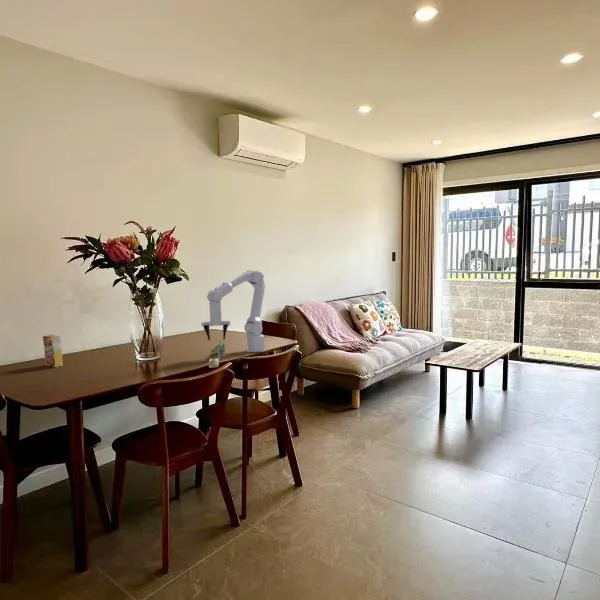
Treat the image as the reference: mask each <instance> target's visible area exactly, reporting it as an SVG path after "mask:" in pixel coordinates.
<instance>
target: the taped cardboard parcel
mask: <svg viewBox="0 0 600 600" xmlns="http://www.w3.org/2000/svg"><path fill="white" fill-rule="evenodd" d="M217 344H218V343H216V344H215V346H216V345H217ZM219 362H220V360H219V359H218V358H215V357H213V358H212V357H211V358H209V361H208V368H218V367H219V365H220V364H219Z"/></svg>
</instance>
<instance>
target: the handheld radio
mask: <svg viewBox="0 0 600 600" xmlns="http://www.w3.org/2000/svg"><path fill="white" fill-rule="evenodd" d="M216 344H217V345H216ZM216 344H215V346H214V348H213V354H214V357H213V358H218V359H219V361H220V360H221V359H222V357H223V355H225V353H226V349H225V347H226V346H225V340H220V341H219V342H218V343H216Z"/></svg>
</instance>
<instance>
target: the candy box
mask: <svg viewBox="0 0 600 600" xmlns="http://www.w3.org/2000/svg"><path fill="white" fill-rule="evenodd" d="M42 342H43V343H42V344H43V349H44V360H45V366H46V365H47V366H46V367H50V366H52V367H51V368H55V367H57V368H59V367H58V366H61V367H63V366H64V365H63V364H64V363H63V353H62V352H63V351H62V343H61V335H53V334H46V335H42Z"/></svg>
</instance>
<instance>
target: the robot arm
mask: <svg viewBox="0 0 600 600" xmlns="http://www.w3.org/2000/svg"><path fill="white" fill-rule="evenodd" d="M264 278H265V277H264V274H263V273H262V272H261V270H250V269H249V270H248V269H247V270H246V271H244V272H243V273H241V274H240V275H238V276H237V277H235V278H234V279H232V280H231V281H230V282H227V281H226V282H225V281H223V282H222V283H221V285H219V286H218V287H215V288H214V290H213V289H211V290H209V291H208V293H207V295H206V299H207V300H208V302H209V305H208V306H209V321H202V322H201V327H203V330H204V331H205V333H206V337H207V339H208V341H210V340H211V335H210V327H214V326H215V327H217V326H222V333H223V337H222V339H223V340H222V341H225V340H226V333H227V331H228V327H229V326H231V321H230V320H222V308H221V307H222V303H221V301H222V299H223V298H224V297H226V296H227V295H228V294H231V293H232V292H233V289H234V288H235V287H238V286H240V285H241V284H243V283H245V282H248V284H251V286H252V287H253V288H254V289H253V296H252V301H251V302H252V303H251V309H250V314H249V317H248V318H247V319H246V323H245V324H244V326H243V327H244V331H245V332H246V343H247V344H246V345H247V348H246V353H257V352H258V353H261V352H263V353H264V352H265V348H266V347H265V346H266V345H265V335H264V334H262V332H263V321H262V319H261V313H262V308H263V301H264V296H265V288H266V286H265V279H264Z"/></svg>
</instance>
